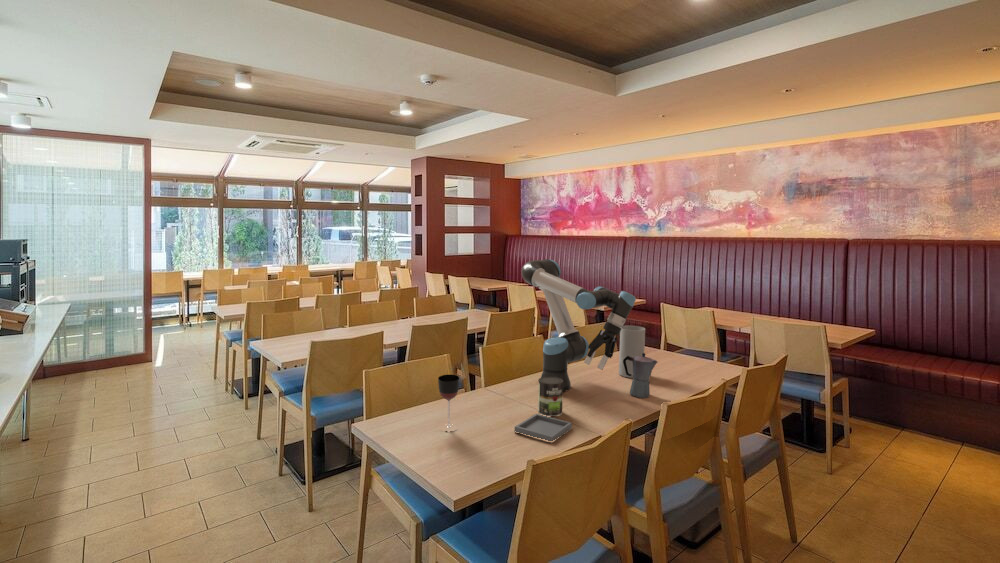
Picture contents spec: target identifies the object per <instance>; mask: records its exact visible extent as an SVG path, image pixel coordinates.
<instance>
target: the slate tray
mask: <svg viewBox="0 0 1000 563" xmlns="http://www.w3.org/2000/svg"><path fill="white" fill-rule="evenodd" d="M572 427H573V423H572V422H570V421H568V420H567V421H566V420H562V419H559V418H556V417H547V416H543V415H540V414H539V413H534V414H533V415H531V416H529V417H528V418H526V419H525V420H523V421H521V422H519V423H518V424H517V425H515V426H514V432H515V431H516V432H519V433H523V434H526V435H530V436H533V437H537V438H541V439H545V440H548V441H553V440H555V439H557V438H558V437H560V436H561V435H563V434H564V433H566V432H567V431H568V432H570V431H571V430H572V429H573V428H572ZM571 428H572V429H571ZM570 429H571V430H570ZM569 430H570V431H569ZM568 432H567V433H568ZM567 433H566V434H567ZM564 435H565V434H564ZM564 435H563V436H564ZM560 438H561V437H560Z"/></svg>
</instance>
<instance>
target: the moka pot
mask: <svg viewBox="0 0 1000 563" xmlns="http://www.w3.org/2000/svg"><path fill="white" fill-rule="evenodd" d="M626 360H630V361H633V374H634V375H633V378H632V381H631V386H630V390H629V394H630V395H631V396H632V397H636V398H641V399H646V398H650V396H651V395H650V394H651V393H650V377H651V375H652V372H653V369H654V368H655V366H656V365H657V364H658V362H659V361H657V360H656V359H653V358H652V357H649V356H646V353H645V352H644V353H642V356H635V357H630V356H627V357H626V358H624V360H623V364H624V367H625V372H626V375H628V376H631V375H632V374H629V373H628V370H627V365H626Z"/></svg>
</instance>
